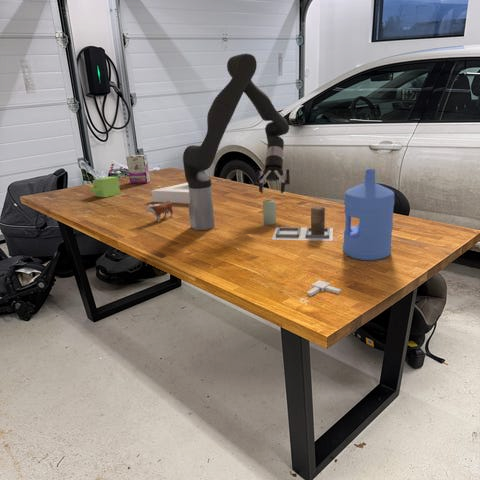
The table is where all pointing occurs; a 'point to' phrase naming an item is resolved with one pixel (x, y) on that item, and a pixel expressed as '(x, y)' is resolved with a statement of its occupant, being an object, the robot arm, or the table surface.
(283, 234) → the base plate
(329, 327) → the table surface
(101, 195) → the gearbox
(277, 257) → the table surface
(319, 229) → the walnut column
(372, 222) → the water jug
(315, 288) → the corner connector
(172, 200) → the triangle block
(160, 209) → the bull figurine
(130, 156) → the candy bar box
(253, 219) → the table surface
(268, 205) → the sage column
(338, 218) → the table surface
